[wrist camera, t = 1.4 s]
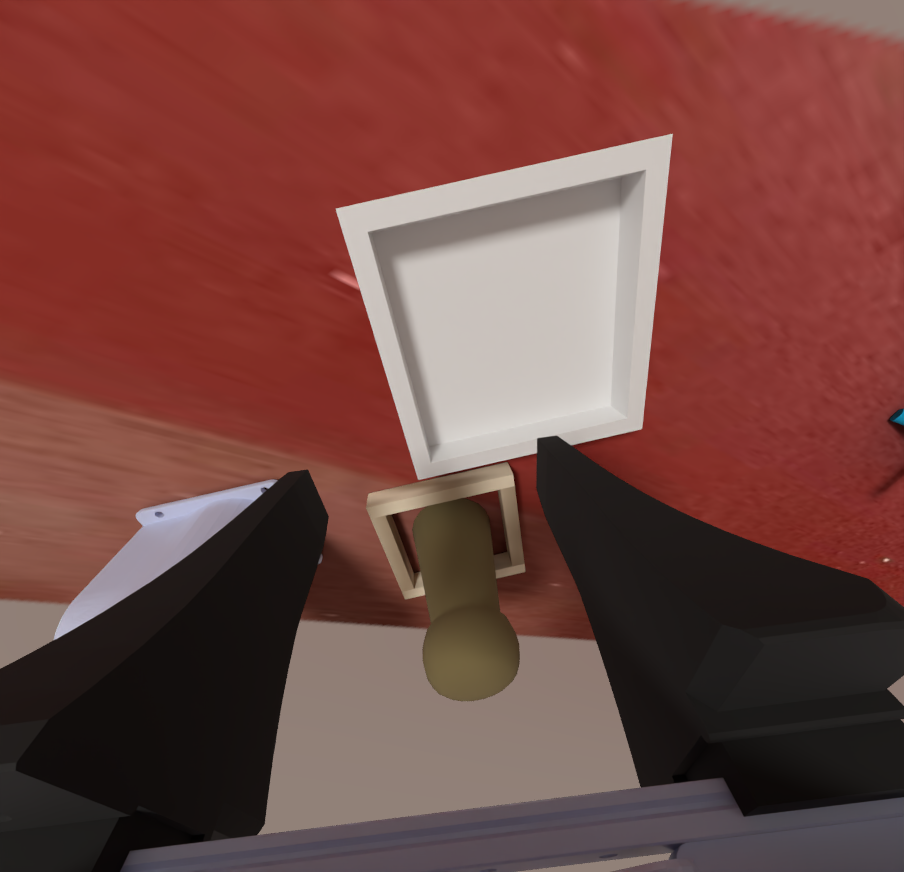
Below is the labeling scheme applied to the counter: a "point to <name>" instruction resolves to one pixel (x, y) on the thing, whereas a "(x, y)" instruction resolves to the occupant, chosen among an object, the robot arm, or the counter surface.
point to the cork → (463, 603)
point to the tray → (516, 302)
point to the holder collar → (439, 492)
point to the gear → (898, 417)
